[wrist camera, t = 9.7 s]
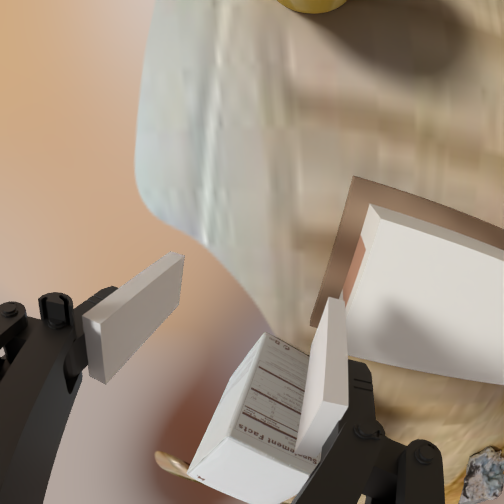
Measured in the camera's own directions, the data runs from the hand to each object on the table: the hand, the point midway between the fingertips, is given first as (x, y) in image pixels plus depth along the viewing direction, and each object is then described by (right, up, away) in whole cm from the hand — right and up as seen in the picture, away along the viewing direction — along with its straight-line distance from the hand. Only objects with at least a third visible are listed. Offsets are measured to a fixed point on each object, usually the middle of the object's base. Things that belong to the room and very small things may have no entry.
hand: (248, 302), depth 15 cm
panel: (+15, -1, +7) cm, 17 cm away
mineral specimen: (+32, -28, +14) cm, 45 cm away
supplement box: (+3, -9, +15) cm, 17 cm away
